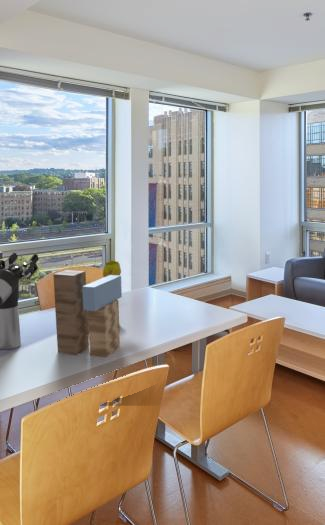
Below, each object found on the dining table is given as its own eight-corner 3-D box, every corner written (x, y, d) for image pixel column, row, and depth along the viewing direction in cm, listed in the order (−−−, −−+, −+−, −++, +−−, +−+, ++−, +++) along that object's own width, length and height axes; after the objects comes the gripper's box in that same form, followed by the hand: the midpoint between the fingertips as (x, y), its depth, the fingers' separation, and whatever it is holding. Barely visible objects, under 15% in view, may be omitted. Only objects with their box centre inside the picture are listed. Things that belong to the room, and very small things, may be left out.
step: (106, 357, 182) (104, 307, 179) (90, 355, 185) (88, 306, 181) (119, 347, 193) (118, 299, 190) (104, 345, 196) (102, 298, 192)
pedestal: (77, 355, 185) (73, 275, 180) (57, 352, 189) (53, 274, 183) (88, 347, 194) (85, 271, 188) (70, 344, 197) (66, 269, 191)
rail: (95, 311, 174) (94, 287, 173) (83, 309, 176) (82, 286, 175) (121, 297, 195) (121, 275, 193) (110, 296, 196) (110, 274, 195)
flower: (107, 320, 230) (105, 260, 225) (123, 320, 229) (121, 260, 224) (103, 326, 221) (101, 263, 216) (120, 326, 221) (118, 263, 215)
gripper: (-13, 294, 154) (13, 262, 166) (23, 297, 149) (47, 264, 161) (-23, 277, 150) (5, 245, 161) (14, 280, 145) (40, 247, 156)
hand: (26, 255), depth 161 cm, fingers open, 8 cm apart
